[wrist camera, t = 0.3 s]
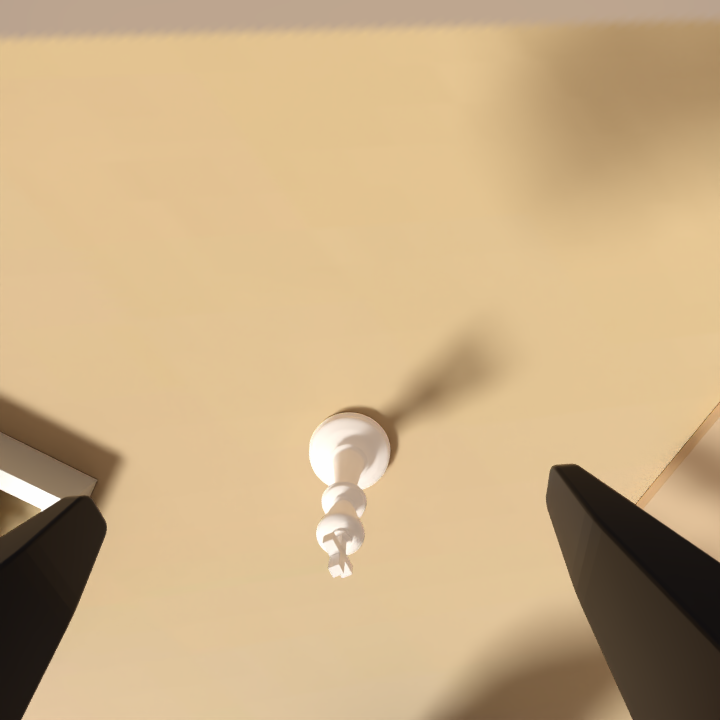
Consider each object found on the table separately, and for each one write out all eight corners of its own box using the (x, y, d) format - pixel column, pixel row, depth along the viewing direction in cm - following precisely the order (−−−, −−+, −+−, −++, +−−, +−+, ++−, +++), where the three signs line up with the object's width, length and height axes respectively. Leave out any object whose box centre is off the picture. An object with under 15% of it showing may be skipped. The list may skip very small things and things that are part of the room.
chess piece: (369, 398, 24) (368, 490, 14) (403, 468, 25) (425, 599, 15) (295, 431, 24) (244, 541, 14) (332, 498, 25) (307, 643, 15)
